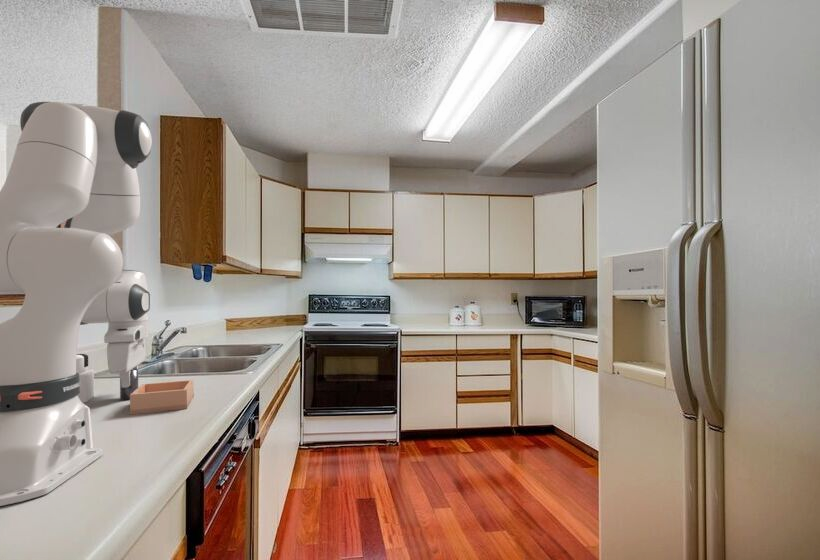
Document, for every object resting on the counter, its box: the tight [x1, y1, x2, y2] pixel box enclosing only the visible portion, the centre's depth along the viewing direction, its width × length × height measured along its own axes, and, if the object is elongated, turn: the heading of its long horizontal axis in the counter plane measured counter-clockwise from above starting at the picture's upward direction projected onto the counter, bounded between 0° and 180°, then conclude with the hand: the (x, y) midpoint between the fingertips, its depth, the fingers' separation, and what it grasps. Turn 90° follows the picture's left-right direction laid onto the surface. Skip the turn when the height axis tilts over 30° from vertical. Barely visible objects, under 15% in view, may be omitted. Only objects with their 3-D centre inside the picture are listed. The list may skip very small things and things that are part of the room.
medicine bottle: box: [76, 353, 95, 404], centre depth 108 cm, size 7×7×12 cm
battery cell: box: [119, 368, 139, 402], centre depth 110 cm, size 4×4×8 cm
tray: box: [129, 379, 195, 415], centre depth 103 cm, size 12×12×4 cm
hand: (129, 384), depth 110 cm, fingers closed on battery cell, 4 cm apart
